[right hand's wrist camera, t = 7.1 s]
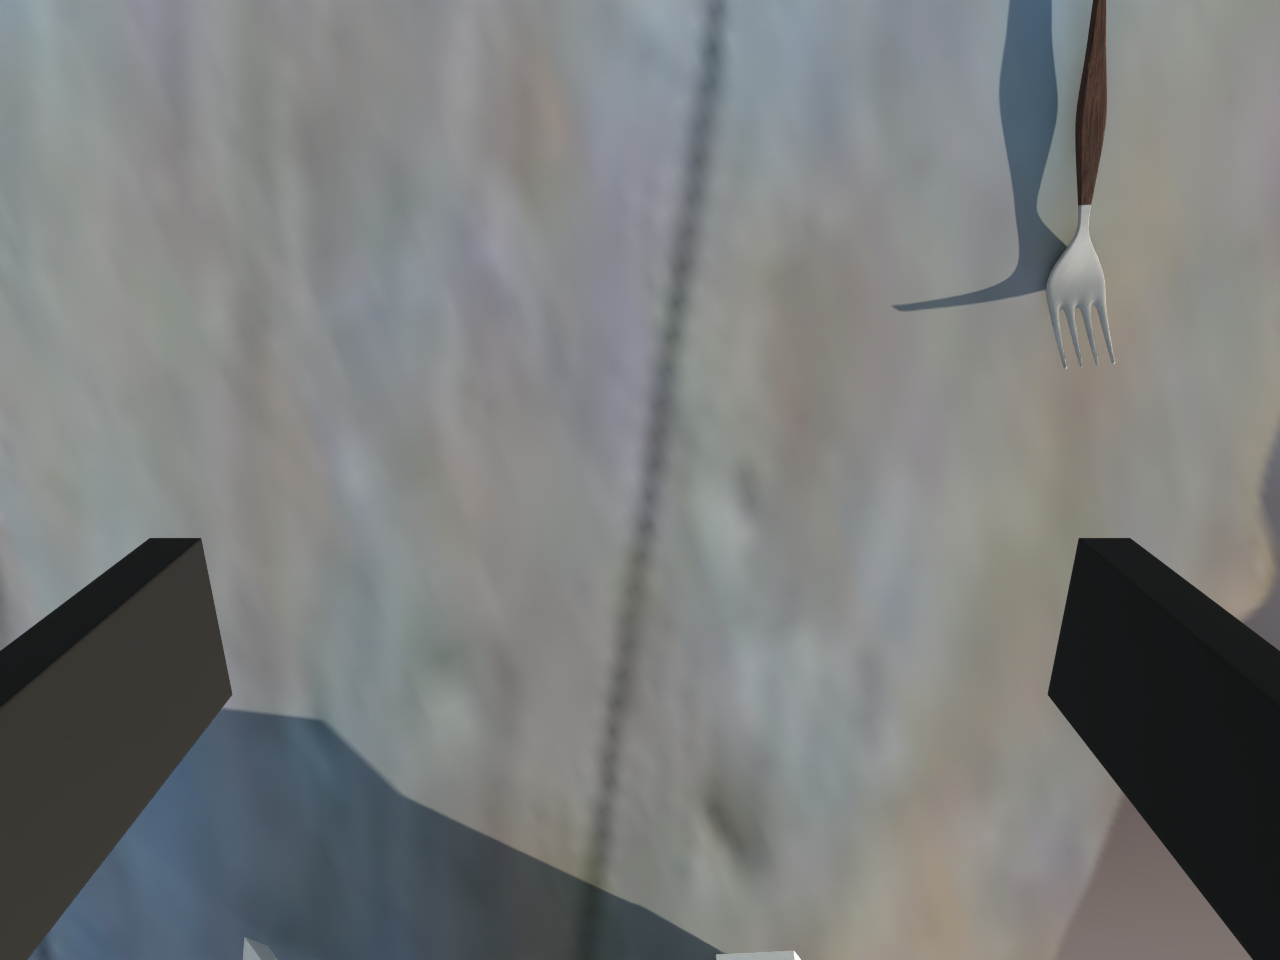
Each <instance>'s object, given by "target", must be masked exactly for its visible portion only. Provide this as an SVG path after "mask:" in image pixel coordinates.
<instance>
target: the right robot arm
mask: <svg viewBox="0 0 1280 960" xmlns="http://www.w3.org/2000/svg"><path fill="white" fill-rule="evenodd" d="M231 696H232V690H231V685H230V680H229V675H228V670H227V665H226V660H225V655H224V650H223V645H222V640H221V635H220V630H219V625H218V620H217V615H216V610H215V605H214V600H213V595H212V590H211V585H210V580H209V575H208V570H207V565H206V560H205V555H204V550H203V545H202V540H201V538H149V539H148V540H147V541H145V542H144V543H143V544H141V545H140V546H139V547H138V548H136V549H135V550H134V551H132V552H131V553H130V554H128V555H127V556H126V557H124V558H123V559H122V560H120V561H119V562H118V563H116V564H115V565H114V566H112V567H111V568H110V569H108V570H107V571H106V572H104V573H103V574H102V575H100V576H99V577H98V578H96V579H95V580H94V581H92V582H91V583H90V584H89V585H87V586H86V587H85V588H83V589H82V590H81V591H79V592H78V593H77V594H75V595H74V596H73V597H71V598H70V599H69V600H67V601H66V602H65V603H63V604H62V605H61V606H59V607H58V608H57V609H55V610H54V611H53V612H51V613H50V614H49V615H47V616H46V617H45V618H44V619H42V620H41V621H40V622H38V623H37V624H36V625H34V626H33V627H32V628H30V629H29V630H28V631H26V632H25V633H24V634H22V635H21V636H20V637H18V638H17V639H16V640H14V641H13V642H12V643H10V644H9V645H8V646H6V647H5V648H4V649H2V650H1V651H0V960H27V959H28V958H29V957H30V955H31V954H32V953H33V951H34V950H35V949H36V947H37V946H38V945H39V944H40V942H41V941H42V940H43V938H44V937H45V936H46V935H47V933H48V932H49V931H50V929H51V928H52V927H53V926H54V924H55V923H56V922H57V920H58V919H59V918H60V916H61V915H62V914H63V913H64V911H65V910H66V909H67V907H68V906H69V905H70V904H71V902H72V901H73V900H74V898H75V897H76V896H77V895H78V893H79V892H80V891H81V889H82V888H83V887H84V885H85V884H86V883H87V882H88V880H89V879H90V878H91V876H92V875H93V874H94V873H95V871H96V870H97V869H98V867H99V866H100V865H101V864H102V862H103V861H104V860H105V858H106V857H107V856H108V854H109V853H110V852H111V851H112V849H113V848H114V847H115V845H116V844H117V843H118V842H119V840H120V839H121V838H122V836H123V835H124V834H125V833H126V831H127V830H128V829H129V827H130V826H131V825H132V823H133V822H134V821H135V820H136V818H137V817H138V816H139V814H140V813H141V812H142V811H143V809H144V808H145V807H146V805H147V804H148V803H149V802H150V800H151V799H152V798H153V796H154V795H155V794H156V792H157V791H158V790H159V789H160V787H161V786H162V785H163V783H164V782H165V781H166V780H167V778H168V777H169V776H170V774H171V773H172V772H173V771H174V769H175V768H176V767H177V765H178V764H179V763H180V761H181V760H182V759H183V758H184V756H185V755H186V754H187V752H188V751H189V750H190V749H191V747H192V746H193V745H194V743H195V742H196V741H197V740H198V738H199V737H200V736H201V734H202V733H203V732H204V730H205V729H206V728H207V727H208V725H209V724H210V723H211V721H212V720H213V719H214V718H215V716H216V715H217V714H218V712H219V711H220V710H221V709H222V707H223V706H224V705H225V703H226V702H227V701H228V700H229V698H230V697H231ZM1048 696H1049V697H1050V698H1051V700H1052V701H1053V702H1054V703H1055V705H1056V706H1057V707H1058V709H1059V710H1060V711H1061V712H1062V714H1063V715H1064V716H1065V718H1066V719H1067V720H1068V721H1069V723H1070V724H1071V725H1072V727H1073V728H1074V729H1075V730H1076V732H1077V733H1078V734H1079V736H1080V737H1081V738H1082V740H1083V741H1084V742H1085V743H1086V745H1087V746H1088V747H1089V749H1090V750H1091V751H1092V752H1093V754H1094V755H1095V756H1096V758H1097V759H1098V760H1099V761H1100V763H1101V764H1102V765H1103V767H1104V768H1105V769H1106V771H1107V772H1108V773H1109V774H1110V776H1111V777H1112V778H1113V780H1114V781H1115V782H1116V783H1117V785H1118V786H1119V787H1120V789H1121V790H1122V791H1123V792H1124V794H1125V795H1126V796H1127V798H1128V799H1129V800H1130V802H1131V803H1132V804H1133V805H1134V807H1135V808H1136V809H1137V811H1138V812H1139V813H1140V814H1141V816H1142V817H1143V818H1144V820H1145V821H1146V822H1147V823H1148V825H1149V826H1150V827H1151V829H1152V830H1153V831H1154V833H1155V834H1156V835H1157V836H1158V838H1159V839H1160V840H1161V842H1162V843H1163V844H1164V845H1165V847H1166V848H1167V849H1168V851H1169V852H1170V853H1171V854H1172V856H1173V857H1174V858H1175V860H1176V861H1177V862H1178V864H1179V865H1180V866H1181V867H1182V869H1183V870H1184V871H1185V873H1186V874H1187V875H1188V876H1189V878H1190V879H1191V880H1192V882H1193V883H1194V884H1195V885H1196V887H1197V888H1198V889H1199V891H1200V892H1201V893H1202V895H1203V896H1204V897H1205V898H1206V900H1207V901H1208V902H1209V904H1210V905H1211V906H1212V907H1213V909H1214V910H1215V911H1216V913H1217V914H1218V915H1219V916H1220V918H1221V919H1222V920H1223V922H1224V923H1225V924H1226V925H1227V927H1228V928H1229V929H1230V931H1231V932H1232V933H1233V935H1234V936H1235V937H1236V938H1237V940H1238V941H1239V942H1240V944H1241V945H1242V946H1243V947H1244V949H1245V950H1246V951H1247V953H1248V954H1249V955H1250V957H1251V958H1252V959H1253V960H1280V651H1279V650H1278V649H1276V648H1275V647H1274V646H1272V645H1271V644H1270V643H1268V642H1267V641H1266V640H1264V639H1263V638H1262V637H1260V636H1259V635H1258V634H1256V633H1255V632H1254V631H1252V630H1251V629H1250V628H1248V627H1247V626H1246V625H1244V624H1243V623H1242V622H1240V621H1239V620H1238V619H1236V618H1235V617H1234V616H1233V615H1231V614H1230V613H1229V612H1227V611H1226V610H1225V609H1223V608H1222V607H1221V606H1219V605H1218V604H1217V603H1215V602H1214V601H1213V600H1211V599H1210V598H1209V597H1207V596H1206V595H1205V594H1203V593H1202V592H1201V591H1199V590H1198V589H1197V588H1195V587H1194V586H1193V585H1191V584H1190V583H1189V582H1188V581H1186V580H1185V579H1184V578H1182V577H1181V576H1180V575H1178V574H1177V573H1176V572H1174V571H1173V570H1172V569H1170V568H1169V567H1168V566H1166V565H1165V564H1164V563H1162V562H1161V561H1160V560H1158V559H1157V558H1156V557H1154V556H1153V555H1152V554H1150V553H1149V552H1148V551H1146V550H1145V549H1144V548H1142V547H1141V546H1140V545H1139V544H1137V543H1136V542H1135V541H1133V540H1132V539H1131V538H1079V540H1078V545H1077V550H1076V555H1075V560H1074V565H1073V570H1072V575H1071V580H1070V585H1069V590H1068V595H1067V600H1066V605H1065V610H1064V615H1063V620H1062V625H1061V630H1060V635H1059V640H1058V645H1057V650H1056V655H1055V660H1054V665H1053V670H1052V675H1051V680H1050V685H1049V690H1048Z"/></svg>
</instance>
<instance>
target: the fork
mask: <svg viewBox="0 0 1280 960" xmlns="http://www.w3.org/2000/svg"><path fill="white" fill-rule="evenodd" d="M1106 114H1107V75H1106V0H1093V5H1092V13H1091V20H1090V27H1089V35H1088V42H1087V49H1086V55H1085V61H1084V67H1083V73H1082V79H1081V85H1080V91H1079V97H1078V104H1077V113H1076V131H1075V138H1076V168H1077V189H1078V227H1077V231H1076V234H1075V236H1074V238H1073V239H1072V241H1071V243H1070V244H1069V246H1068V247H1067V248H1066V250H1065V251H1064V253H1063V254H1062V255H1061V257H1060V258H1059V259H1058V261H1057V262H1056V264H1055V265H1054V267H1053V269H1052V271H1051V273H1050V275H1049V278H1048V281H1047V286H1046V296H1047V302H1048V307H1049V312H1050V316H1051V321H1052V325H1053V330H1054V334H1055V338H1056V341H1057V345H1058V349H1059V352H1060V356H1061V360H1062V363H1063V367H1064V369H1066V368H1067V365H1066V361H1065V355H1064V349H1063V342H1062V335H1061V328H1060V321H1059V311H1060V309H1063V310H1064V311H1065V314H1066V317H1067V320H1068V325H1069V329H1070V333H1071V336H1072V340H1073V344H1074V347H1075V351H1076V355H1077V358H1078V361H1079V365H1080V367H1082V366H1083V365H1082V360H1081V354H1080V348H1079V341H1078V334H1077V328H1076V320H1075V309H1076V307H1079V308H1080V310H1081V312H1082V316H1083V319H1084V324H1085V328H1086V331H1087V335H1088V339H1089V342H1090V346H1091V350H1092V353H1093V356H1094V360H1095V363H1096V365H1097V366H1098V364H1099V362H1098V358H1097V352H1096V346H1095V340H1094V333H1093V327H1092V320H1091V307H1092V306H1093V305H1094V306H1095V307H1096V308H1097V311H1098V314H1099V318H1100V322H1101V326H1102V330H1103V334H1104V337H1105V341H1106V345H1107V348H1108V352H1109V355H1110V358H1111V362H1112V364H1114V363H1115V360H1114V356H1113V350H1112V344H1111V338H1110V332H1109V326H1108V319H1107V311H1106V296H1105V281H1104V275H1103V271H1102V267H1101V264H1100V261H1099V259H1098V257H1097V254H1096V252H1095V250H1094V248H1093V245H1092V243H1091V240H1090V236H1089V230H1088V224H1089V215H1090V208H1091V203H1092V198H1093V192H1094V187H1095V182H1096V177H1097V172H1098V167H1099V162H1100V156H1101V151H1102V145H1103V139H1104V133H1105V125H1106Z"/></svg>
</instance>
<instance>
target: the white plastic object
mask: <svg viewBox="0 0 1280 960" xmlns="http://www.w3.org/2000/svg"><path fill="white" fill-rule="evenodd" d="M243 960H278V959H277V958H276V956H275V955H274V954H273V952H272V951H271V950H270V948H269V947H268V946H267V945H265V944H262V943H259V942H256V941H254V940H251V939H248V938H245V937H244V949H243ZM716 960H801V959H800V958H799V957H798V955H797V954H796V953H795V952H794V951H775V952H754V953H733V954H716Z"/></svg>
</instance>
